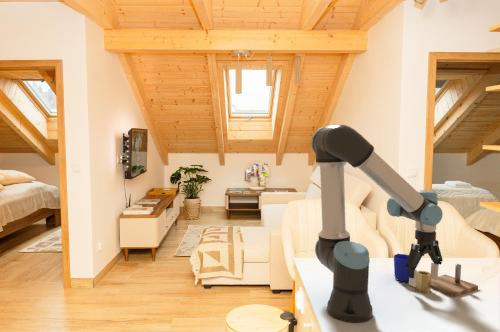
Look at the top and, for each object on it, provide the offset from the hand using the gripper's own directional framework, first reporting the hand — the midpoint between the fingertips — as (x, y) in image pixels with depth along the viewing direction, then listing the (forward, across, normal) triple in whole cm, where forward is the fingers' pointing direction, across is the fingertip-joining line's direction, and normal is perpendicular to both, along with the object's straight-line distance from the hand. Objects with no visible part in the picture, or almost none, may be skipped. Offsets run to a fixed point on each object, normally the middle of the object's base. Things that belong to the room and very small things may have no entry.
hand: (423, 282), depth 151 cm
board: (+3, +13, -3) cm, 14 cm away
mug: (+3, +4, +13) cm, 14 cm away
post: (+2, +15, -5) cm, 16 cm away
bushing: (+3, 0, 0) cm, 3 cm away
